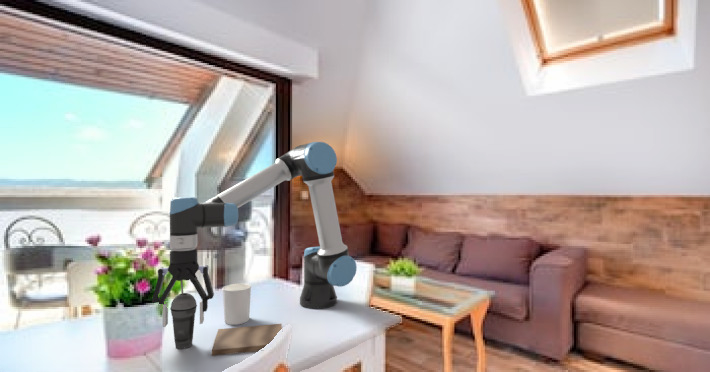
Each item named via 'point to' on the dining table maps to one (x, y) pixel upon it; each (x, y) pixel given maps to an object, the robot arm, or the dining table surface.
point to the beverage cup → (183, 319)
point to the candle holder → (236, 303)
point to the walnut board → (244, 339)
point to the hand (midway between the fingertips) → (183, 323)
